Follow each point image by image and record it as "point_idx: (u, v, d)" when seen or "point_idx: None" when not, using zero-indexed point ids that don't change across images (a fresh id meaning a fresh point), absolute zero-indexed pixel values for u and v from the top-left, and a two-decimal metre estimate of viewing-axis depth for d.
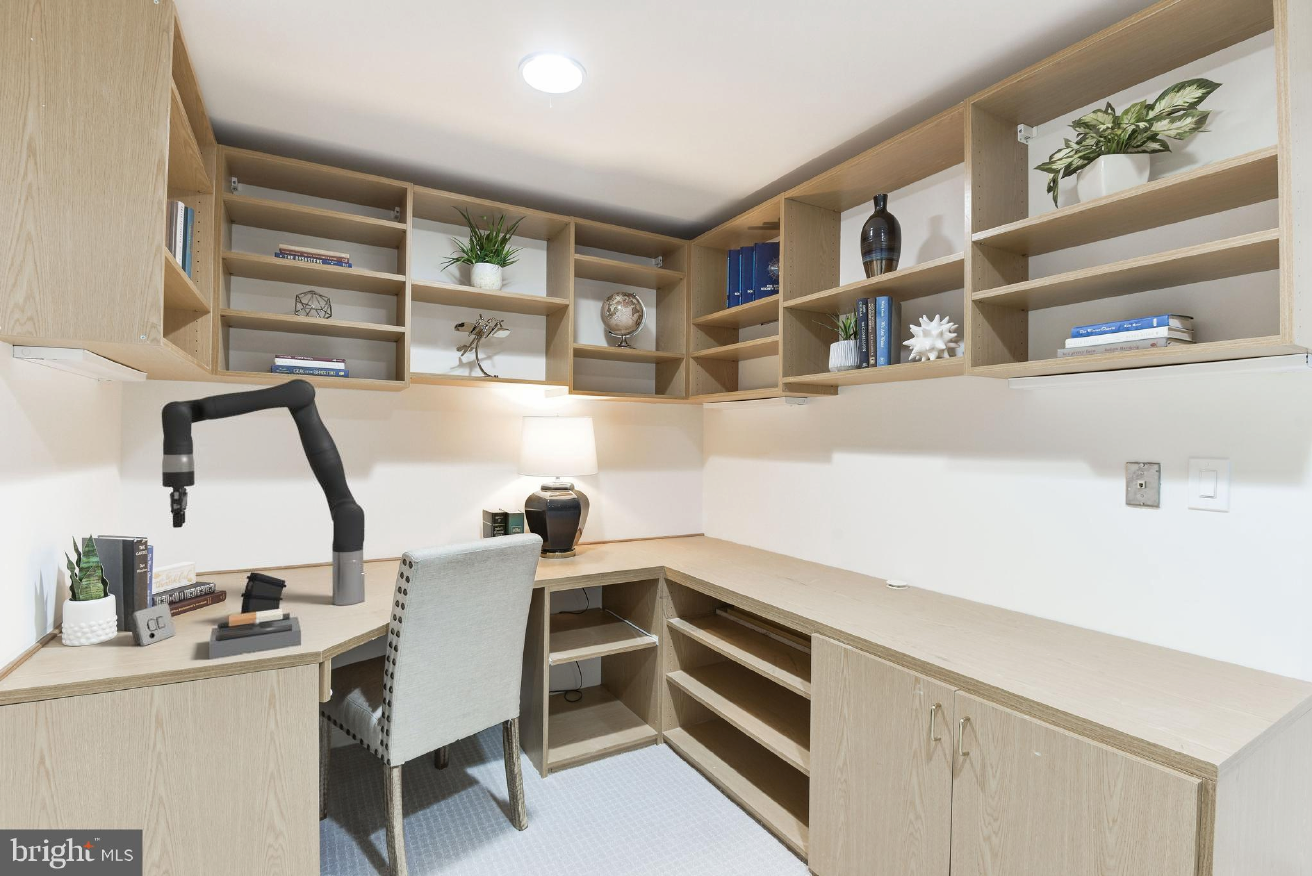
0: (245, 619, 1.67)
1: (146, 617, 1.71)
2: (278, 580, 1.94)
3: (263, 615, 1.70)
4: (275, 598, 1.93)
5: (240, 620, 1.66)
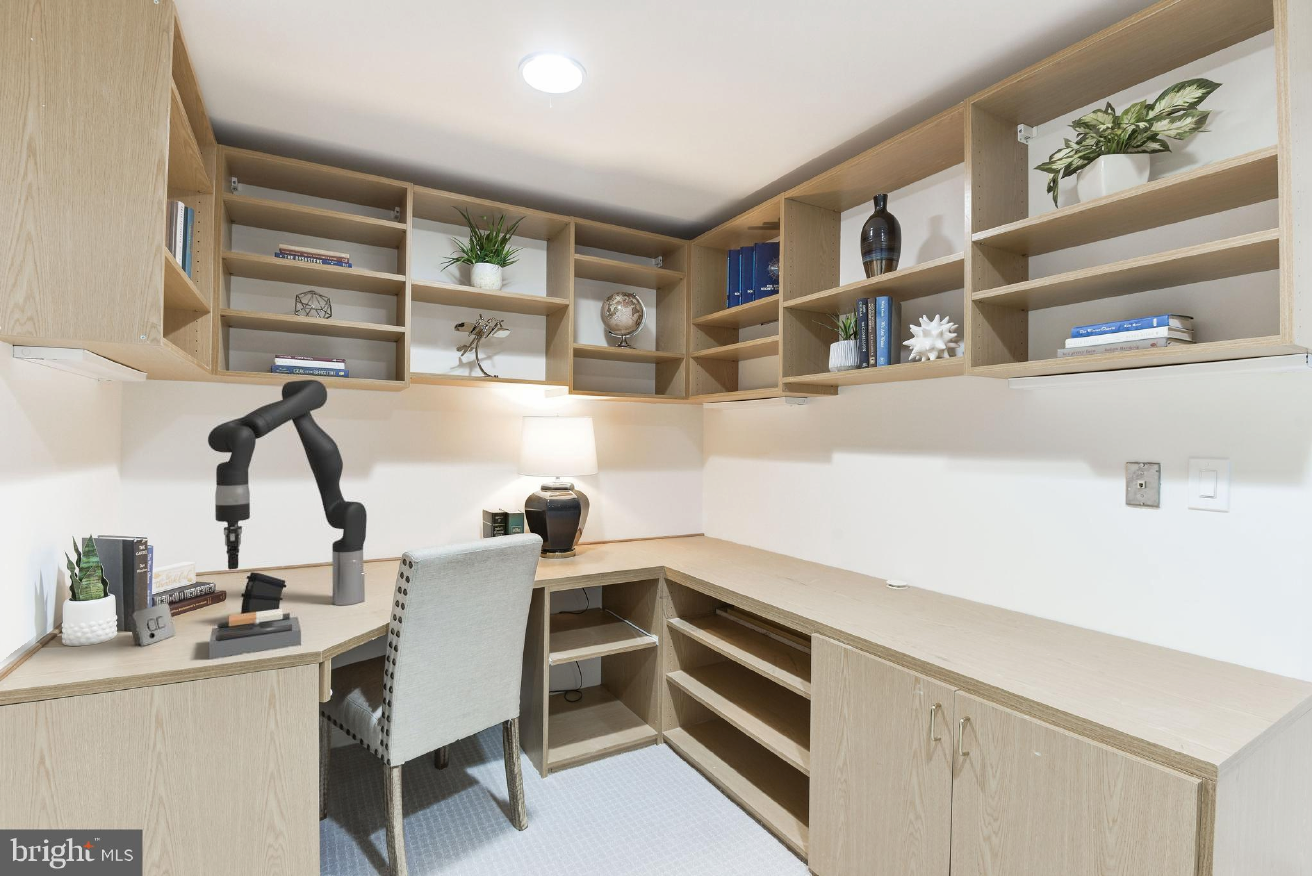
0: (245, 619, 1.67)
1: (146, 617, 1.71)
2: (278, 580, 1.94)
3: (263, 615, 1.70)
4: (275, 598, 1.93)
5: (240, 620, 1.66)
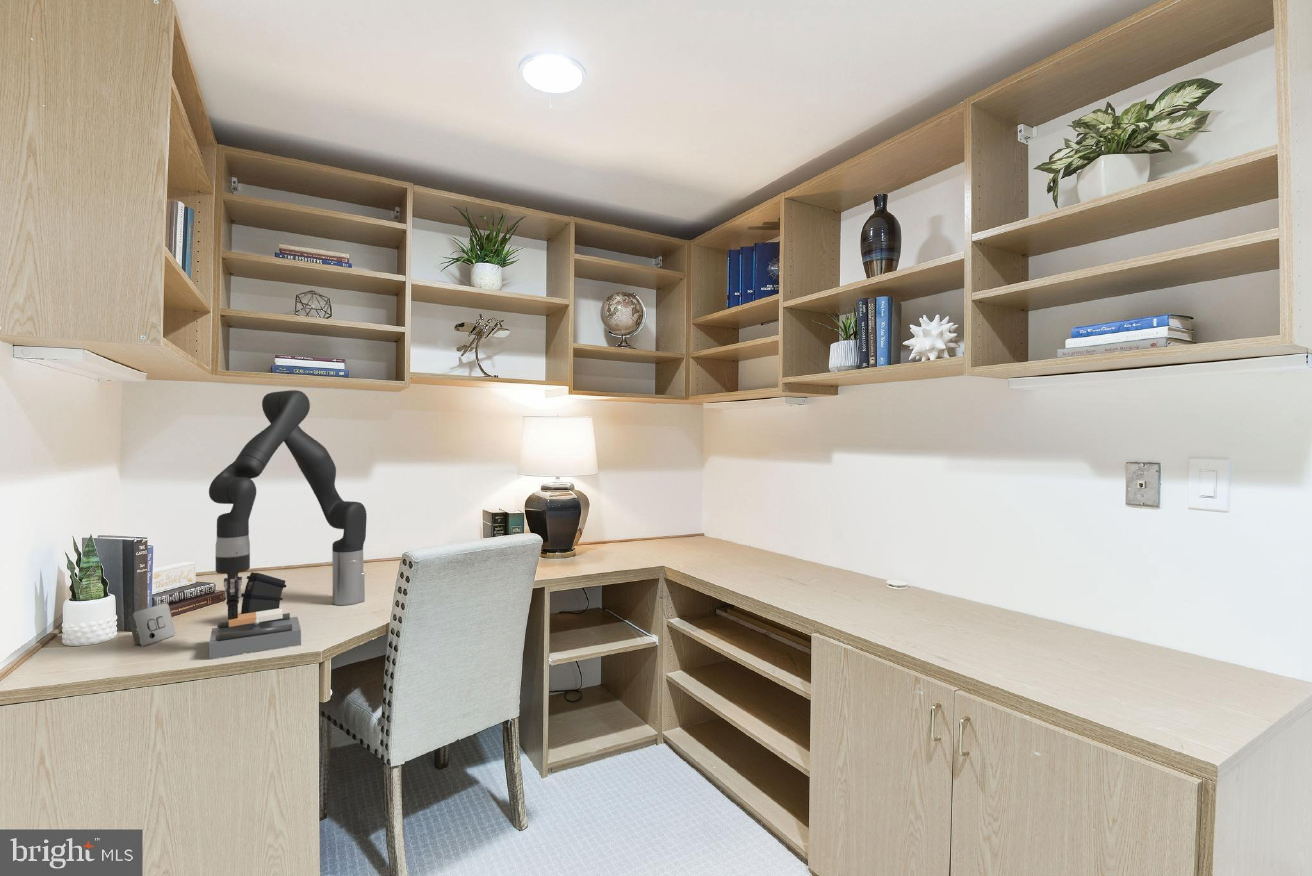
0: (245, 619, 1.67)
1: (146, 617, 1.71)
2: (278, 580, 1.94)
3: (263, 615, 1.70)
4: (275, 598, 1.93)
5: (240, 620, 1.66)
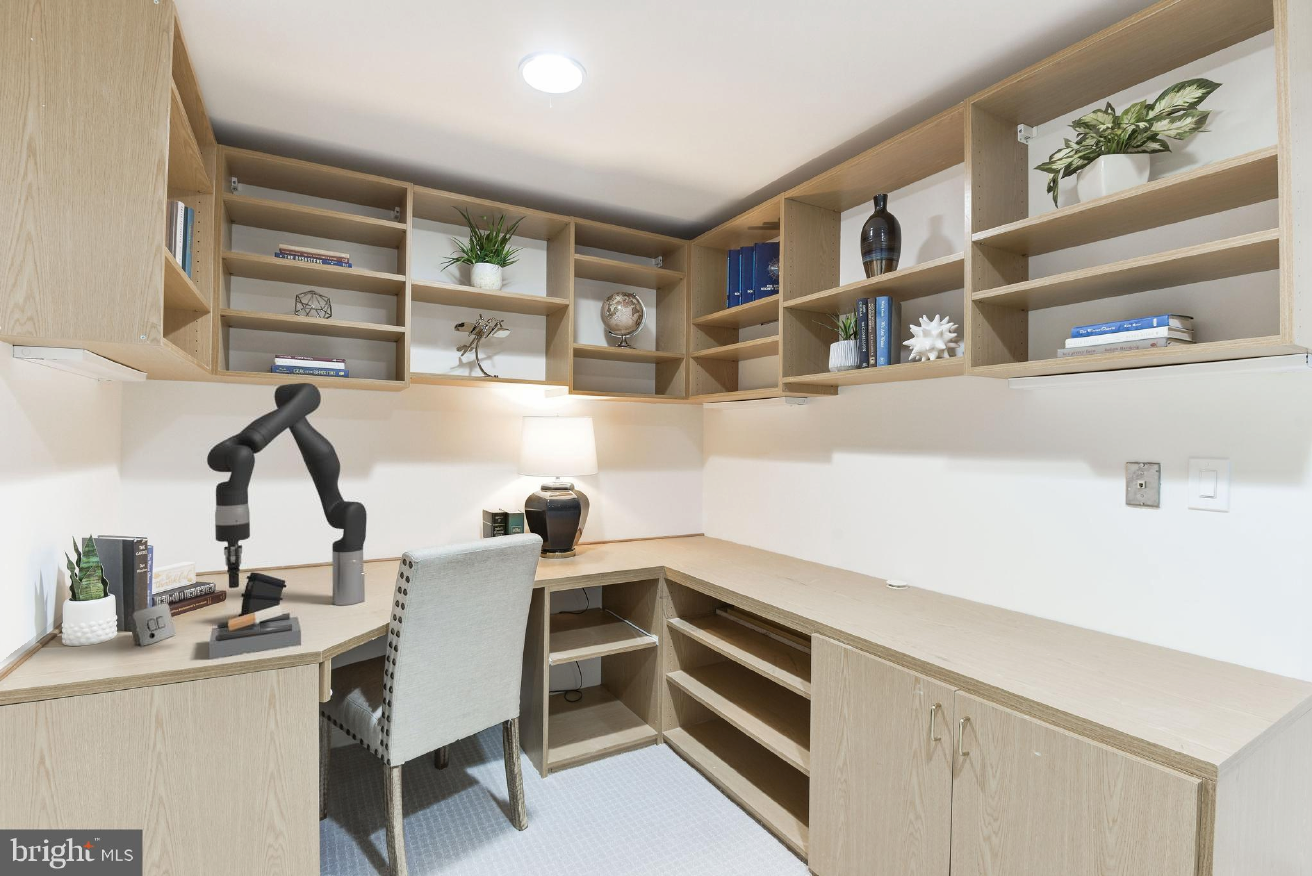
0: (244, 621, 1.67)
1: (146, 617, 1.71)
2: (278, 580, 1.94)
3: (262, 614, 1.70)
4: (275, 598, 1.93)
5: (239, 623, 1.66)
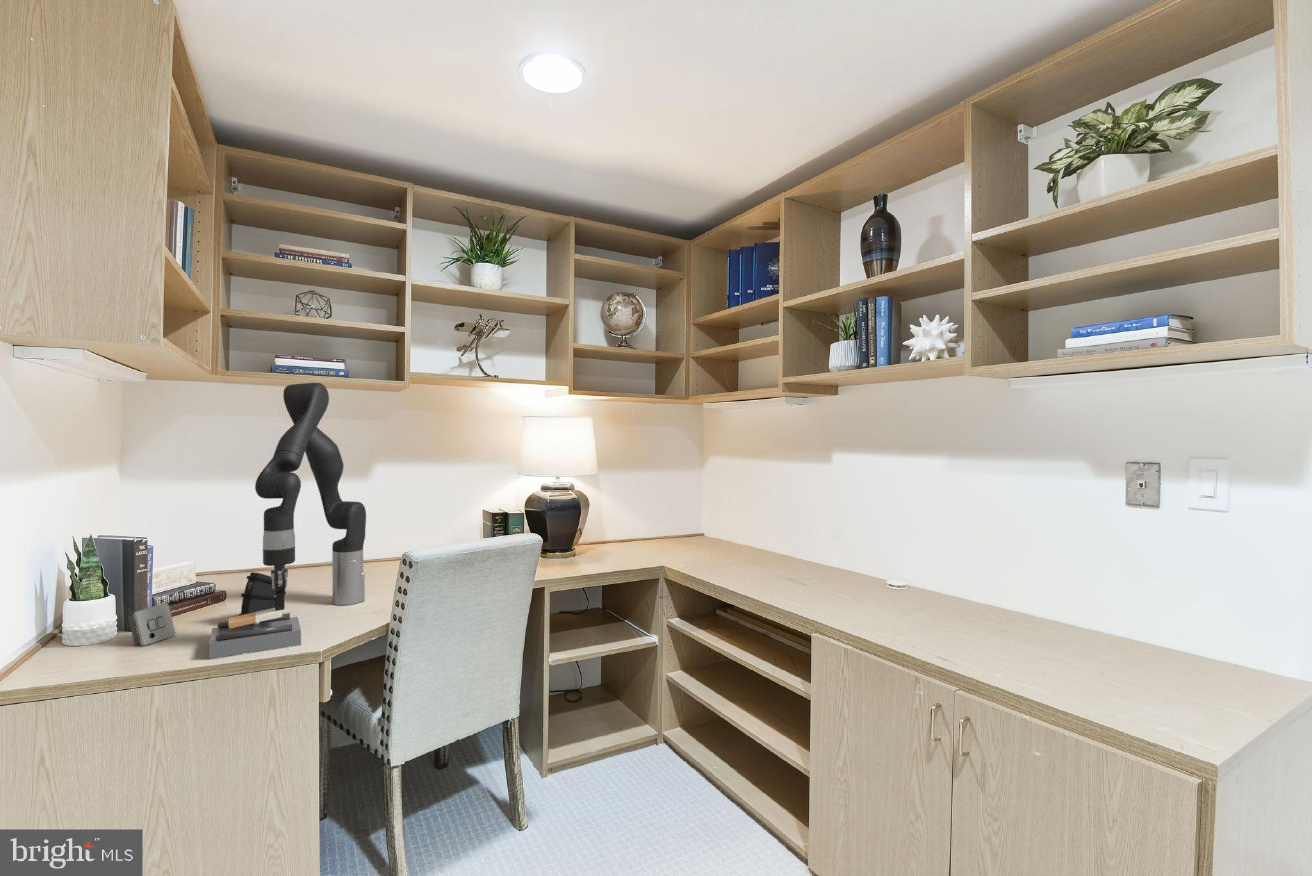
0: (244, 620, 1.67)
1: (146, 617, 1.71)
2: None
3: (262, 614, 1.70)
4: None
5: (240, 622, 1.66)
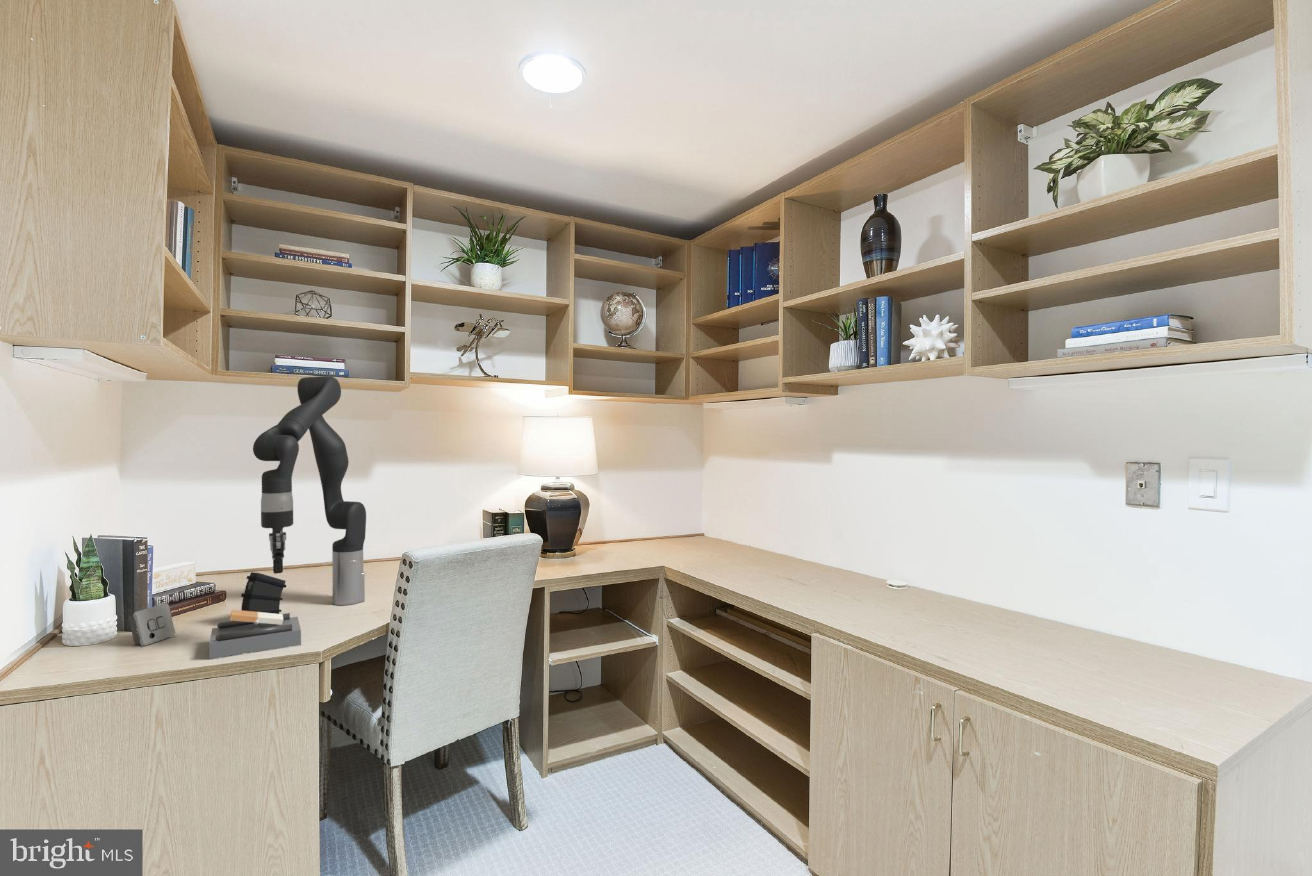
0: (247, 617, 1.67)
1: (146, 617, 1.71)
2: (278, 580, 1.94)
3: (264, 617, 1.70)
4: (275, 598, 1.93)
5: (242, 617, 1.66)
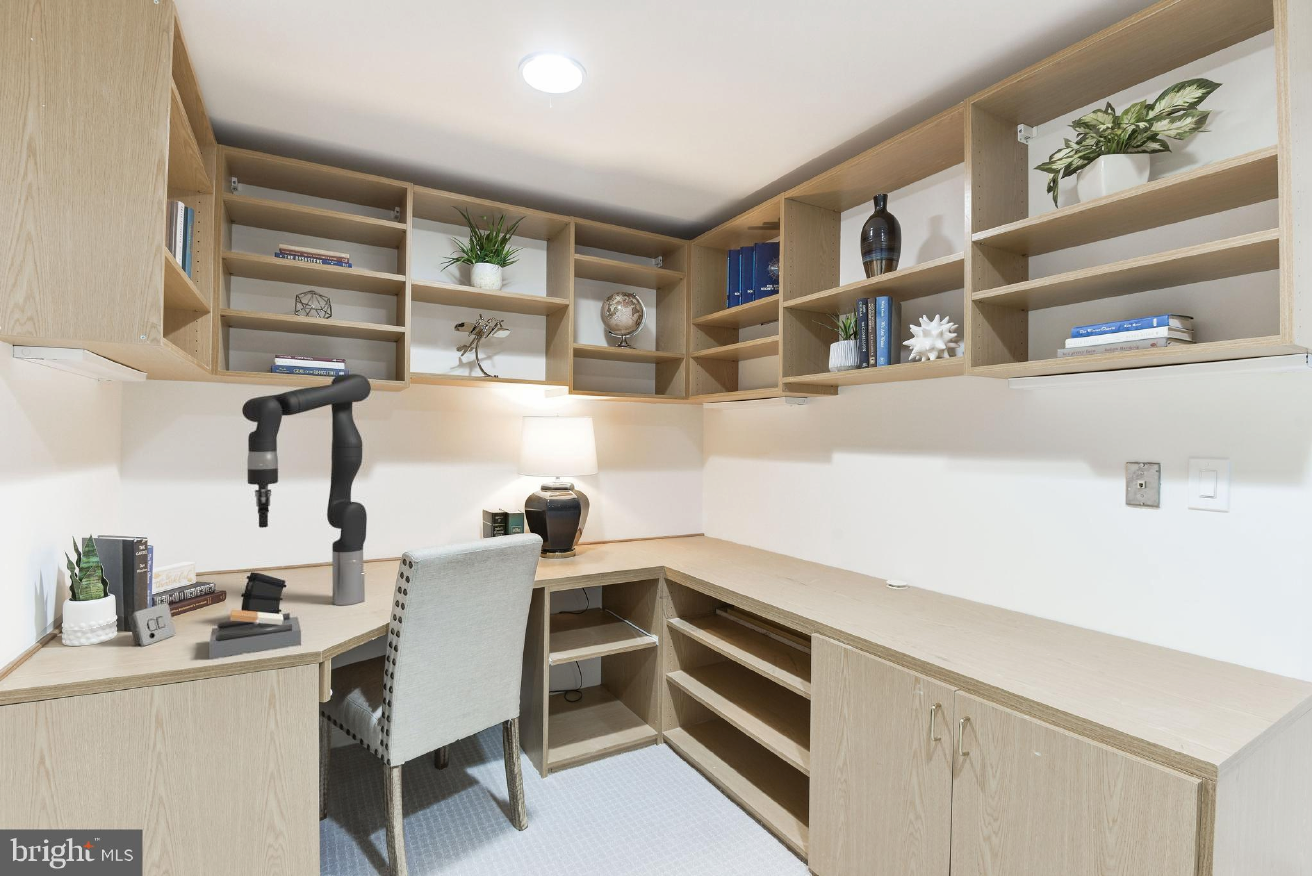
0: (247, 617, 1.67)
1: (146, 617, 1.71)
2: (278, 580, 1.94)
3: (264, 617, 1.70)
4: (275, 598, 1.93)
5: (242, 616, 1.66)
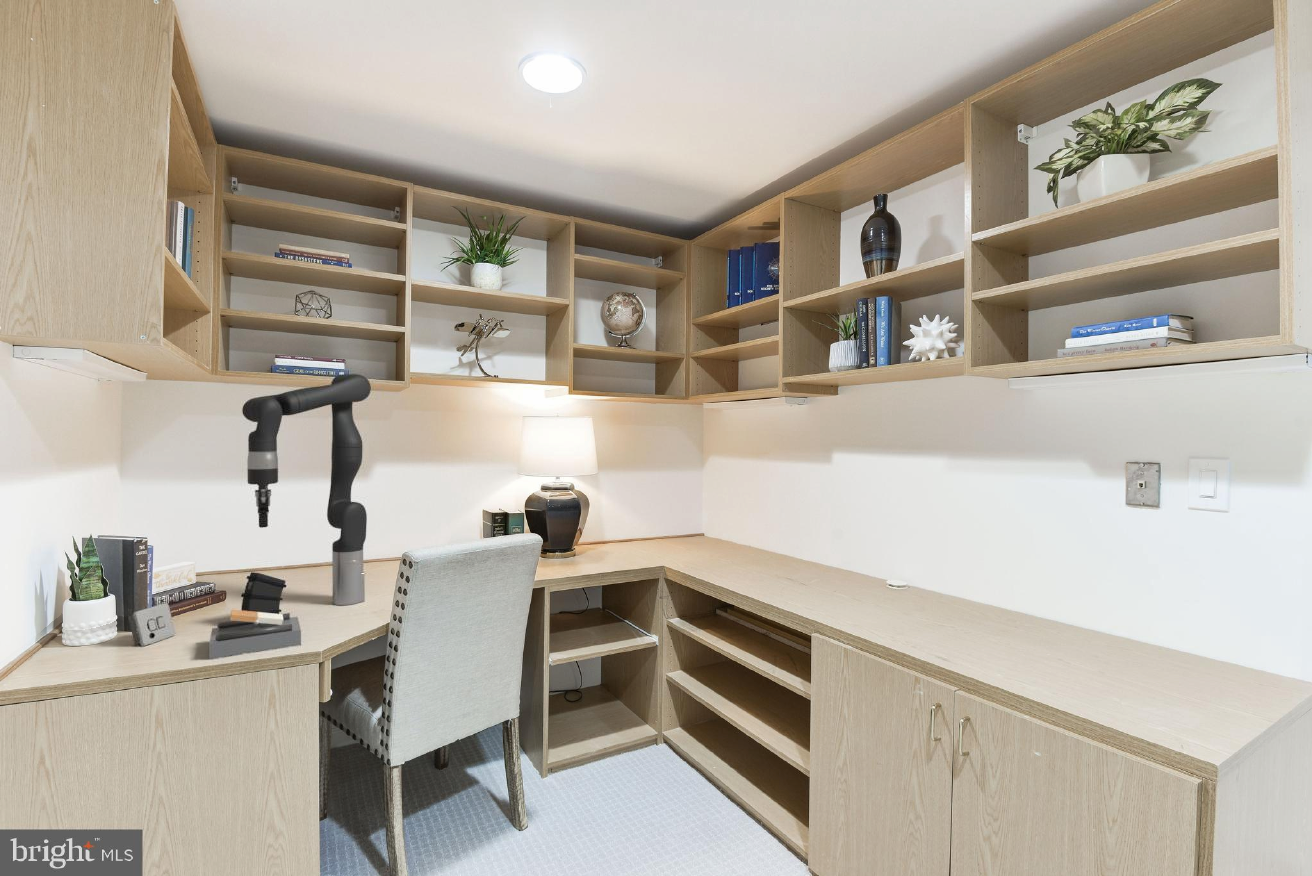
0: (247, 617, 1.67)
1: (146, 617, 1.71)
2: (278, 580, 1.94)
3: (264, 617, 1.70)
4: (275, 598, 1.93)
5: (242, 616, 1.66)
